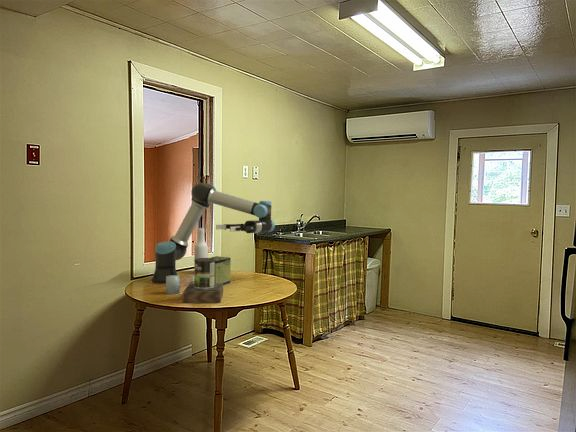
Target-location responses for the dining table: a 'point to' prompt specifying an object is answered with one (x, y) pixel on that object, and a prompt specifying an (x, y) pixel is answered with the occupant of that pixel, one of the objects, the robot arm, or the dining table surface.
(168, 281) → the pale glossy cylinder
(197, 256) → the alcohol
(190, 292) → the podium
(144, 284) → the dining table surface
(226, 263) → the protein box
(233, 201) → the robot arm
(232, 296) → the dining table surface
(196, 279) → the coffee can
